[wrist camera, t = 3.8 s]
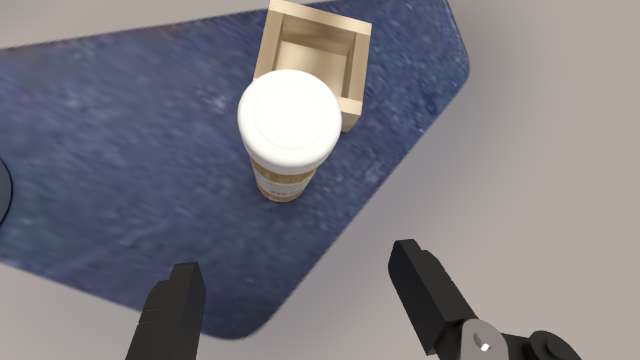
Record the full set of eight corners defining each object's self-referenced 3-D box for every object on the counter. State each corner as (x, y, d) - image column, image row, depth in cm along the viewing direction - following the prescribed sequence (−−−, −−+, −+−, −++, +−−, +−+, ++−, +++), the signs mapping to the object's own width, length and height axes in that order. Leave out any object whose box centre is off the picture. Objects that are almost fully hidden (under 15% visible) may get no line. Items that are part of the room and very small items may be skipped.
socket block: (253, 113, 25) (250, 91, 21) (271, 31, 27) (271, -3, 23) (347, 133, 27) (360, 115, 23) (358, 52, 29) (371, 23, 25)
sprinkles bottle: (311, 160, 25) (352, 80, 12) (300, 208, 24) (334, 177, 11) (261, 148, 25) (251, 52, 12) (249, 197, 24) (222, 150, 11)
